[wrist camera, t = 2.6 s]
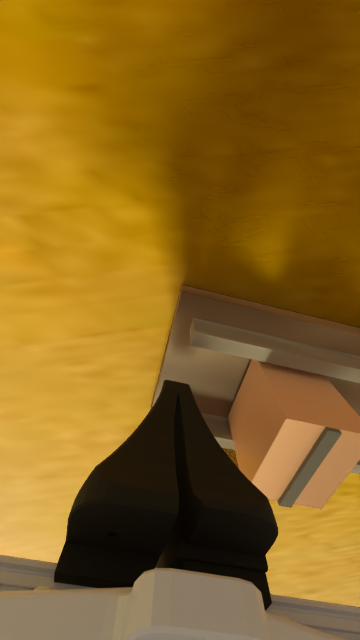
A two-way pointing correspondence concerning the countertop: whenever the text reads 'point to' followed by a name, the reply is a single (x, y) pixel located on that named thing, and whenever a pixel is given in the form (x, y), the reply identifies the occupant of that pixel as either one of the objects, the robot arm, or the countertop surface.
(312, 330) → the fader board
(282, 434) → the fader knob
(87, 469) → the countertop surface
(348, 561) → the countertop surface
